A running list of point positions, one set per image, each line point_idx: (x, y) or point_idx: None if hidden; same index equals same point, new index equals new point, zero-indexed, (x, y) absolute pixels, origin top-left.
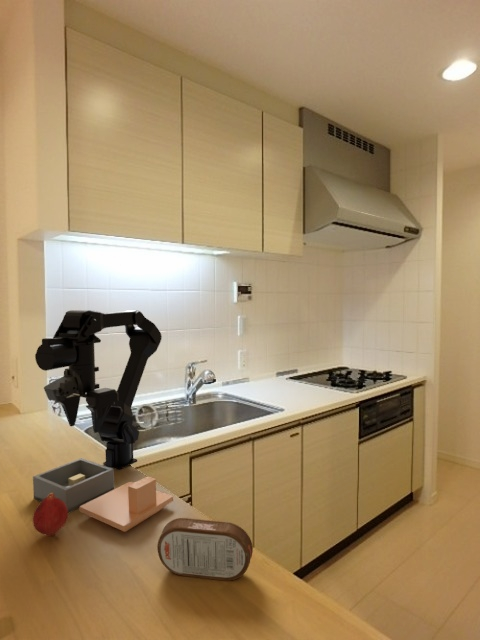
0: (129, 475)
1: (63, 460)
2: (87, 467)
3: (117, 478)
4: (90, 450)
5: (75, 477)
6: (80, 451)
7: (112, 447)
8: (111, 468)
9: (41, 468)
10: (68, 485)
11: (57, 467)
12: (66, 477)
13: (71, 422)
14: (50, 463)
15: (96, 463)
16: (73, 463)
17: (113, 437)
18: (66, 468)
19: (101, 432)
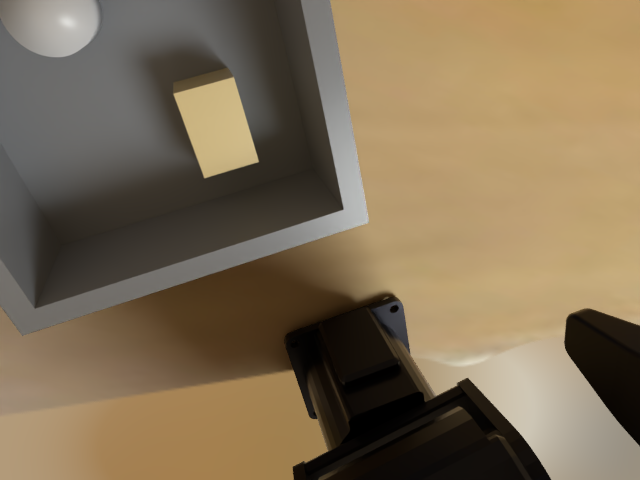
0: (193, 355)
1: (596, 167)
2: (261, 218)
3: (198, 307)
4: (582, 292)
5: (213, 119)
6: (612, 257)
7: (360, 398)
8: (43, 327)
9: (612, 44)
10: (250, 74)
11: (329, 34)
12: (300, 84)
13: (603, 350)
14: (623, 104)
15: (203, 274)
16: (330, 158)
17: (356, 461)
18: (314, 98)
19: (443, 435)
